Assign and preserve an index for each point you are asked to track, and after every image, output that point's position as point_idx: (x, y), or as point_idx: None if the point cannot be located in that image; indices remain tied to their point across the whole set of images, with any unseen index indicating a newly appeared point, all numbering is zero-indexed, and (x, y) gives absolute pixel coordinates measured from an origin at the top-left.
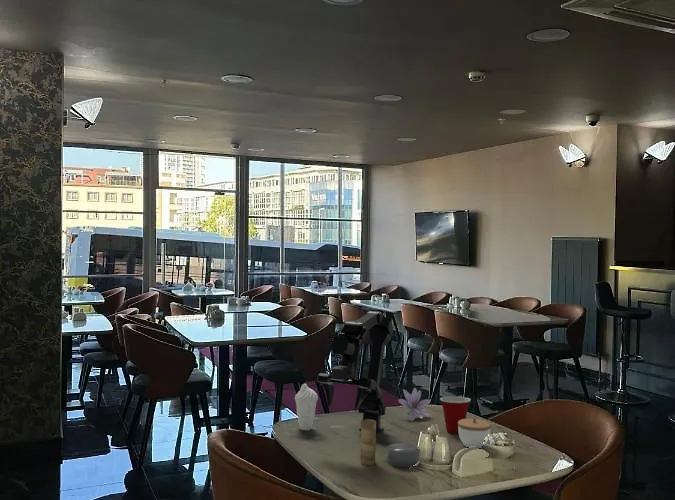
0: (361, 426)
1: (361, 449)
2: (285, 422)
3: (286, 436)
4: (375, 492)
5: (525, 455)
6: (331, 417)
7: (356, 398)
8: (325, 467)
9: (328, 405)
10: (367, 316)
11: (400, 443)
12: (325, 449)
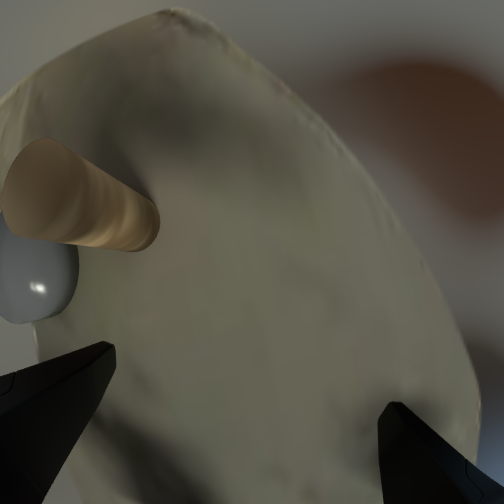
0: (83, 167)
1: (135, 193)
2: None
3: (462, 404)
4: (118, 32)
5: None
6: None
7: (32, 394)
8: (277, 129)
9: (400, 405)
10: None
11: (24, 322)
12: (325, 329)
